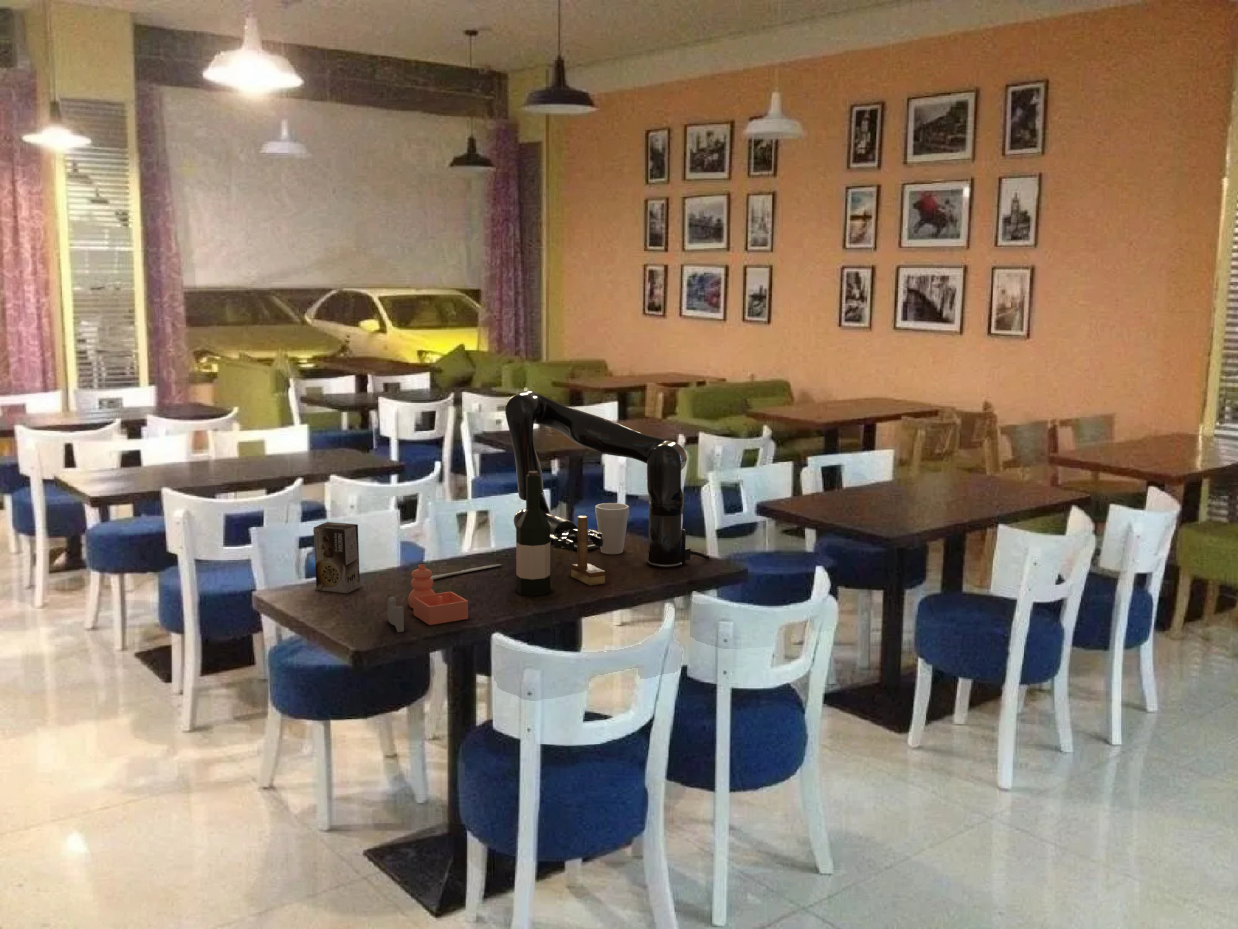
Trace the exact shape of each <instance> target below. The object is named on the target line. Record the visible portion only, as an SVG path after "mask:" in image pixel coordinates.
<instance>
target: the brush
mask: <svg viewBox="0 0 1238 929" xmlns="http://www.w3.org/2000/svg"><path fill="white" fill-rule="evenodd" d="M576 518H577V522H576V523H577V525H576V526H577V550H576V563H574V564H571V565H570V577H571V578H574V579H576V580H578V581H580V582H582V583H584V584H586V585H588V586H596V585H603V584H606V571H605V570H603V569H601V568H600V567H596V566H595V565H592V564H591V563H588V550H587V532H588V531H589V529H588V526H589V525H588V522H589V521H588V518H589V517H588V516H587V515H578V516H577V517H576Z"/></svg>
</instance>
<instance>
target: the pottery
mask: <svg viewBox="0 0 1238 929" xmlns="http://www.w3.org/2000/svg"><path fill="white" fill-rule="evenodd" d="M417 567H418V568H416V569H414V570H413V571H412V572H411V577H412V579H411V581H410V586H411V588H412V590H411V591H410V593H409V595H408V600H407V601H408V604H409V607H410V608H411V609H413V616H414V617H415V618H417V619H419V620H421V621H422V622H424V623H425V624H427V625H428V626H433V625H439V624H444V623H452V622H456V621H457V622H458V621H462V620H468V619H469V600H468V599H465V598H464V597H462V596H460V595H459V594H457V593H456V592H453V591H444V592H439V593H436V592H435V591H434V589H432V588H433V586H434V580H432V578H430V577H431V576H433V571H432V570H431V569H429V568H426V564H422V563H421V564H417Z"/></svg>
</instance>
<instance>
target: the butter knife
mask: <svg viewBox="0 0 1238 929" xmlns="http://www.w3.org/2000/svg"><path fill="white" fill-rule="evenodd" d="M501 566H502V564H490V565H484V566H477V567H472V568H466V569H462V570H459V571H452V572H449V573H448V572H447V573H442V574H441V573H440V574H435V575H433V574H432V576H431V577H430V578H432V580H433V581H435V580H438V579H442V578H447V577H451V576H457V575H461V574H464V573H469V572H470V573H471V572H476V571H479V570H480V571H481V570H486V569H490V568H491V569H492V568H495V567H501Z"/></svg>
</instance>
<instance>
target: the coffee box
mask: <svg viewBox="0 0 1238 929" xmlns="http://www.w3.org/2000/svg"><path fill="white" fill-rule="evenodd" d="M312 530H313V544H314V545H313V546H314V565H315V590H316V591H322V592H331V593H340V594H341V593H342V594H349V593H351V592H353V591H355V590H357V589H360V588H361V581H360V580H361V579H360V578H361V576H360V574H361V573H360V546H359V545H360V544H359V524H358V523H344V522H334V521H333V522H332V521H326V522H323V523H321V524H318V525H316V526H314V527H313V529H312Z"/></svg>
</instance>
